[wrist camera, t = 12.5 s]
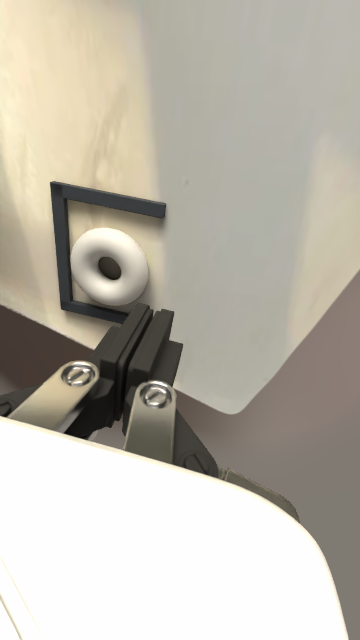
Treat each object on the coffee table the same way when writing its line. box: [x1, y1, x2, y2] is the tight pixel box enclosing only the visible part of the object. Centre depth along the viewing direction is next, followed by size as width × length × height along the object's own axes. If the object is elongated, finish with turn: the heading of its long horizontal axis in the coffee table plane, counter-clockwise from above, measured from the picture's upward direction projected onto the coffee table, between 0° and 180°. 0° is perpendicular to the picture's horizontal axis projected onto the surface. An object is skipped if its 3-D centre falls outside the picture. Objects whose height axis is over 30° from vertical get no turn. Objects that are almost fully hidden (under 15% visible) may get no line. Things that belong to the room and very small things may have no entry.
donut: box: [70, 227, 149, 306], centre depth 36 cm, size 10×4×10 cm
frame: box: [50, 181, 166, 324], centre depth 37 cm, size 14×17×1 cm
